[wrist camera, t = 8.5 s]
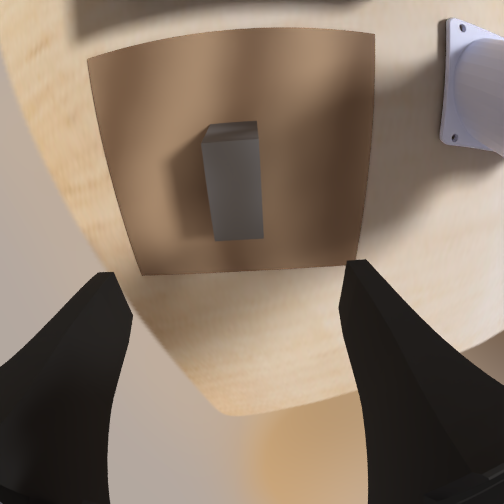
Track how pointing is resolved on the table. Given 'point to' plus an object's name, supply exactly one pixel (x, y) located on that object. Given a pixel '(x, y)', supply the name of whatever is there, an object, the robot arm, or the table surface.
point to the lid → (239, 147)
